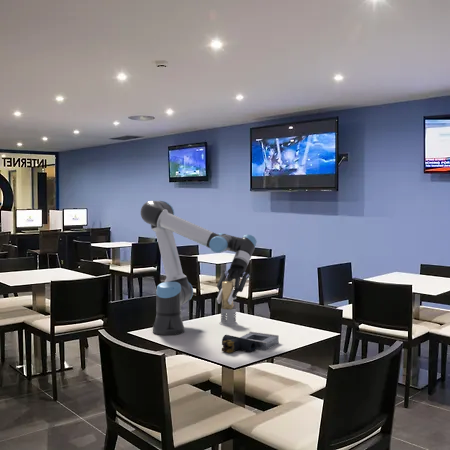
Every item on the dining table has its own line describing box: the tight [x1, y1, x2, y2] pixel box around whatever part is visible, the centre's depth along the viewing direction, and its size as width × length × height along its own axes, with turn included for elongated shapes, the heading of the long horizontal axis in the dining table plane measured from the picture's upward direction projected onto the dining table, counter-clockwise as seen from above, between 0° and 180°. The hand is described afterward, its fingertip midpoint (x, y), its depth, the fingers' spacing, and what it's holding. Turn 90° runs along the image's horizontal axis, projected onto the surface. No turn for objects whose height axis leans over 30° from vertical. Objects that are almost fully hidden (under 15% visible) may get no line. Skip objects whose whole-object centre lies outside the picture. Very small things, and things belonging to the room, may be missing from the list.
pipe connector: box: [221, 334, 257, 354], centre depth 216 cm, size 12×5×15 cm
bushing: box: [221, 280, 234, 309], centre depth 233 cm, size 5×5×12 cm
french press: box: [218, 296, 238, 327], centre depth 266 cm, size 10×12×25 cm
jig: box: [240, 331, 279, 351], centre depth 226 cm, size 14×14×3 cm
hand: (223, 302), depth 229 cm, fingers closed on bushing, 5 cm apart
